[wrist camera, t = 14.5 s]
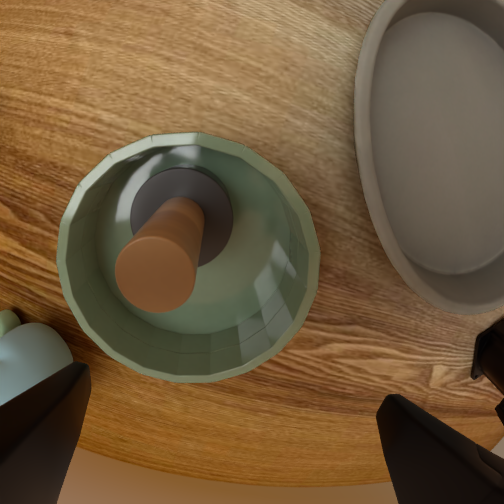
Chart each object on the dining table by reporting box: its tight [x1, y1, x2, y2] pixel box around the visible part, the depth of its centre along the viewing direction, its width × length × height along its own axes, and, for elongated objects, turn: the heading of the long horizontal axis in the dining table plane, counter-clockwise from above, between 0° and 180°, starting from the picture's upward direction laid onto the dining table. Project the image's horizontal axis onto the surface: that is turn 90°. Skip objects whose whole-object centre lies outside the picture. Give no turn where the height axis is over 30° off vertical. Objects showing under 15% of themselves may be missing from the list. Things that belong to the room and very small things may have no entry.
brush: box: [115, 164, 233, 313], centre depth 14 cm, size 5×5×10 cm
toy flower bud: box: [0, 310, 73, 406], centre depth 16 cm, size 7×9×12 cm
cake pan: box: [353, 0, 504, 315], centre depth 17 cm, size 25×25×4 cm
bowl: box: [56, 132, 321, 383], centre depth 17 cm, size 13×13×5 cm
